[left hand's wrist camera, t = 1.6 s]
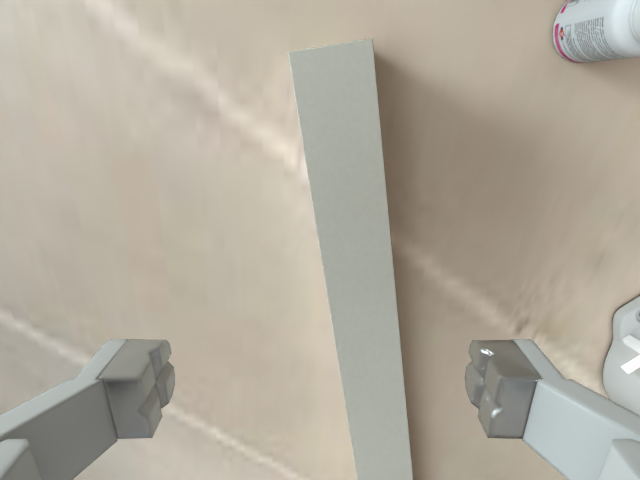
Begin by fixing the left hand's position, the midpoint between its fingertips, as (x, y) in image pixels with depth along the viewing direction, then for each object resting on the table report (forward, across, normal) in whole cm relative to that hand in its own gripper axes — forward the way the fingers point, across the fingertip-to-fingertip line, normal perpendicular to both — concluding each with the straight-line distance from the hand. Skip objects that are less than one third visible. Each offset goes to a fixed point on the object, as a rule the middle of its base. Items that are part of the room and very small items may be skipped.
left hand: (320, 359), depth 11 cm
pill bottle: (+24, +19, +11) cm, 32 cm away
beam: (+23, +6, -24) cm, 34 cm away
